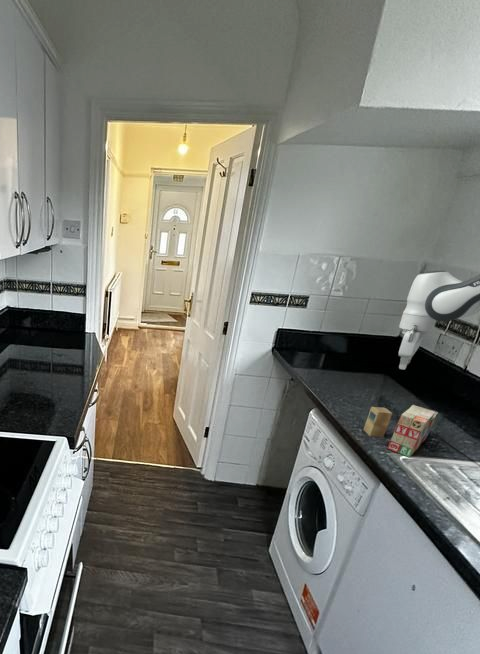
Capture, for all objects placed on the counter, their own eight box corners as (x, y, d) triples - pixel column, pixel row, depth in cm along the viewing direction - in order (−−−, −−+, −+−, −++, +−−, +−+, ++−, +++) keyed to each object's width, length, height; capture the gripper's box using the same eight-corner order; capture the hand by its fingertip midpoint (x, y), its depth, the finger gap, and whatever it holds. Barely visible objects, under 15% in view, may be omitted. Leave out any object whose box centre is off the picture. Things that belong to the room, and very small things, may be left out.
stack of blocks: (406, 429, 143) (420, 397, 138) (427, 437, 139) (443, 404, 134) (386, 448, 130) (401, 414, 125) (409, 457, 126) (426, 422, 120)
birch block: (376, 431, 141) (385, 407, 138) (383, 437, 137) (392, 413, 134) (362, 430, 142) (371, 406, 138) (369, 436, 137) (378, 412, 134)
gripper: (426, 329, 121) (412, 374, 126) (432, 322, 136) (419, 362, 141) (400, 326, 125) (387, 370, 130) (408, 319, 140) (396, 359, 144)
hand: (404, 366), depth 135 cm, fingers open, 8 cm apart
